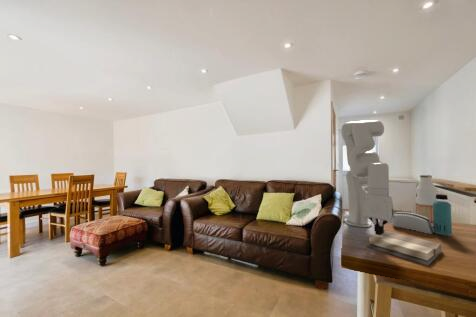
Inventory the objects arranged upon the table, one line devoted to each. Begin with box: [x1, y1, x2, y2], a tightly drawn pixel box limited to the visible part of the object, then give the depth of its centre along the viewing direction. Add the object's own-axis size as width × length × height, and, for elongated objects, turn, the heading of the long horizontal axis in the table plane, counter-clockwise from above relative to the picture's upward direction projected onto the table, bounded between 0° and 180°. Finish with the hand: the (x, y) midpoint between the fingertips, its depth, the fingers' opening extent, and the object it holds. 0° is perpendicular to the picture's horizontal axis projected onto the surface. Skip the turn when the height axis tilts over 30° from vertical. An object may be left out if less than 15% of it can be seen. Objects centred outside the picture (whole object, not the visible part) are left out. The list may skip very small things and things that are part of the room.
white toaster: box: [392, 211, 435, 235], centre depth 108 cm, size 17×5×10 cm, turn 32°
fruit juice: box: [415, 174, 439, 227], centre depth 114 cm, size 9×9×28 cm
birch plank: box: [368, 234, 434, 260], centre depth 83 cm, size 19×8×2 cm, turn 34°
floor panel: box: [365, 229, 442, 267], centre depth 85 cm, size 20×18×3 cm
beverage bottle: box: [433, 193, 453, 236], centre depth 98 cm, size 6×7×20 cm
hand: (379, 233), depth 87 cm, fingers closed
